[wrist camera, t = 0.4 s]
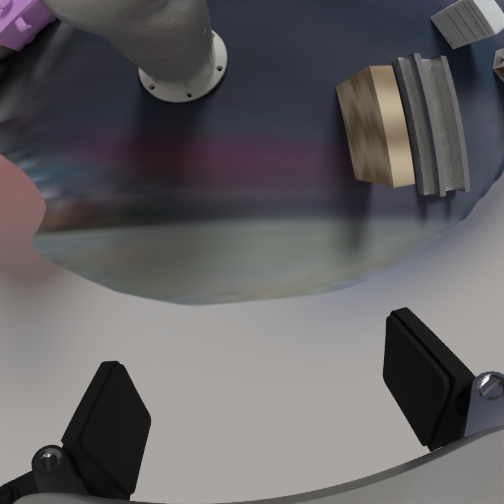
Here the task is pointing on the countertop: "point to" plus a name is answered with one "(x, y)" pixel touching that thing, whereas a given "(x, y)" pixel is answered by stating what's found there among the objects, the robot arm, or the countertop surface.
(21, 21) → the purple lumpy block
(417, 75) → the door track
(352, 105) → the door panel
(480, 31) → the supplement box
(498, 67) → the coffee box
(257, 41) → the countertop surface
